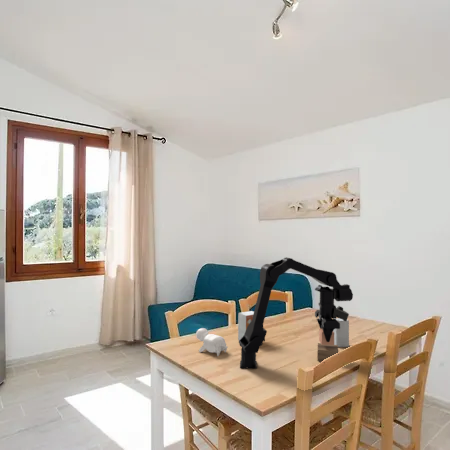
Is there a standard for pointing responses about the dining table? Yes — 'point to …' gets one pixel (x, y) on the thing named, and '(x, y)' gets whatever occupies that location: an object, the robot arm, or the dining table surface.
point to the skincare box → (342, 334)
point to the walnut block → (326, 351)
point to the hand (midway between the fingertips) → (326, 339)
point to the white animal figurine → (211, 342)
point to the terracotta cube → (323, 340)
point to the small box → (244, 322)
